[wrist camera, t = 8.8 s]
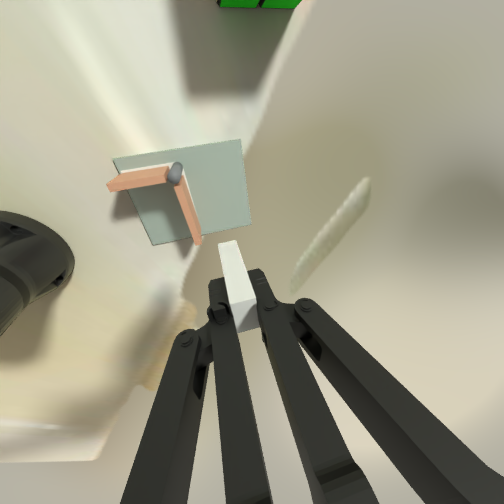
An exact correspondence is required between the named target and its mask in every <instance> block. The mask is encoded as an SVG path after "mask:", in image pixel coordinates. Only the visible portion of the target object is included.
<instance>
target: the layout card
mask: <svg viewBox="0 0 504 504" xmlns="http://www.w3.org/2000/svg"><path fill="white" fill-rule="evenodd" d="M113 161H114V163H115V165H116V167H117V169H118V171H119V173H120V174H121V173H126V172H133V171H139V170H145V169H151V168H157V167H163V166H169V169H171V167H172V165H173V163H174V162H180V163H181V164H182V165H183V171H182V175H184V178H185V181H186V184H187V187H188V190H189V193H190V196H191V199H192V202H193V205H194V208H195V211H196V214H197V217H198V220H199V223H200V226H201V235H204V234H208V233H214V232H218V231H223V230H228V229H233V228H238V227H242V226H247V225H251V218H250V210H249V202H248V194H247V186H246V178H245V170H244V162H243V154H242V146H241V139H237V140H230V141H224V142H217V143H211V144H204V145H198V146H191V147H185V148H178V149H172V150H165V151H159V152H152V153H146V154H139V155H133V156H126V157H120V158H113ZM127 191H128V193H129V195H130V197H131V199H132V201H133V203H134V205H135V208H136V210H137V212H138V214H139V216H140V218H141V220H142V222H143V225H144V227H145V229H146V231H147V233H148V235H149V237H150V239H151V242H152V244H153V245H156V244H161V243H166V242H171V241H175V240H180V239H185V238H190V237H192V234H191V232H190V229H189V226H188V224H187V221H186V218H185V216H184V213H183V210H182V208H181V205H180V202H179V200H178V197H177V194H176V192H175V189H174V184H172V183H170V182H169V181H168V180H167V182H166V183H160V184H155V185H149V186H143V187H137V188H131V189H127Z"/></svg>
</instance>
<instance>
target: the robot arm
mask: <svg viewBox="0 0 504 504" xmlns="http://www.w3.org/2000/svg"><path fill="white" fill-rule="evenodd" d="M218 247H219V253H220V257H221V263H222V268H223V273H224V277H222V278H218V279H214V280H211V281H210V283H209V285H208V288H209V299H210V306H209V307H208V309H207V315H208V318H209V321H208V323H207V324H206V325H204V326H203V327H201V328H200V329H198V330H196V331H195V330H194V329H187V330H184V331H182V332H180V333H179V334H178V335H177V336H176V338H175V340H174V343H173V346H172V349H171V352H170V355H169V358H168V361H167V364H166V367H165V370H164V373H163V376H162V379H161V382H160V385H159V388H158V391H157V394H156V397H155V400H154V403H153V406H152V409H151V412H150V415H149V418H148V421H147V424H146V427H145V430H144V433H143V436H142V439H141V442H140V445H139V448H138V451H137V454H136V457H135V460H134V463H133V466H132V469H131V472H130V475H129V478H128V481H127V484H126V487H125V490H124V493H123V496H122V499H121V502H120V504H187V500H188V494H189V488H190V481H191V476H192V470H193V463H194V457H195V451H196V444H197V438H198V433H199V426H200V419H201V414H202V408H203V401H204V396H205V389H206V383H207V377H208V371H209V365H210V363H211V362H213V361H214V371H215V383H216V395H217V406H218V417H219V428H220V439H221V451H222V462H223V473H224V484H225V495H226V504H273V500H272V496H271V490H270V486H269V481H268V476H267V471H266V467H265V462H264V457H263V453H262V448H261V443H260V438H259V433H258V429H257V424H256V419H255V414H254V410H253V405H252V400H251V395H250V391H249V386H248V381H247V376H246V372H245V367H244V362H243V358H242V353H241V348H240V343H239V339H238V335H237V333H240V332H244V331H247V330H251V329H254V328H258V327H260V328H261V332H262V340H263V342H264V343H265V346H266V350H267V353H268V356H269V359H270V362H271V365H272V369H273V372H274V375H275V378H276V382H277V385H278V388H279V391H280V394H281V397H282V401H283V404H284V407H285V410H286V413H287V417H288V420H289V423H290V426H291V429H292V432H293V436H294V438H295V442H296V445H297V448H298V451H299V454H300V458H301V461H302V464H303V468H304V471H305V474H306V477H307V480H308V484H309V487H310V491H311V495H312V500H313V504H379V502H378V500H377V498H376V496H375V494H374V492H373V490H372V487H371V486H370V484H369V482H368V480H367V478H366V476H365V475H364V473H363V471H362V470H361V468H360V467H359V466H358V465H357V464H356V463H355V462H354V460H353V458H352V456H351V454H350V452H349V450H348V448H347V446H346V444H345V442H344V440H343V437H342V435H341V433H340V431H339V429H338V427H337V425H336V422H335V420H334V418H333V416H332V414H331V412H330V409H329V407H328V406H327V403H326V401H325V399H324V397H323V394H322V392H321V390H320V388H319V386H318V384H317V382H316V379H315V377H314V375H313V373H312V371H311V369H310V366H309V364H308V362H307V360H306V358H305V356H304V354H303V352H302V349H301V347H300V345H301V346H302V347H303V348H304V350H305V351H306V352H307V354H308V355H309V356H310V357H311V359H312V360H313V361H314V363H315V364H316V365H317V366H318V368H319V369H320V370H321V371H322V373H323V374H324V375H325V376H326V378H327V379H328V381H329V382H330V383H331V384H332V386H333V387H334V388H335V390H336V391H337V392H338V393H339V395H340V396H341V397H342V398H343V400H344V401H345V402H346V404H347V405H348V406H349V408H350V409H351V410H352V411H353V413H354V414H355V415H356V417H357V418H358V419H359V420H360V422H361V423H362V424H363V425H364V427H365V428H366V429H367V431H368V432H369V433H370V435H371V436H372V437H373V438H374V440H375V441H376V442H377V443H378V445H379V446H380V447H381V448H382V450H383V451H384V452H385V454H386V455H387V456H388V457H389V459H390V460H391V461H392V463H393V464H394V465H395V467H396V468H397V469H398V470H399V472H400V473H401V474H402V475H403V477H404V478H405V479H406V481H407V482H408V483H409V484H410V486H411V487H412V488H413V489H414V491H415V492H416V493H417V494H418V495H419V497H420V498H421V499H422V500H423V501H424V503H425V504H504V477H503V476H501V475H500V474H498V473H497V472H495V471H494V470H492V469H491V468H489V467H488V466H487V465H485V463H484V462H483V461H481V460H480V459H479V458H478V457H477V456H476V455H475V454H474V453H473V452H472V451H471V450H470V449H469V448H468V447H467V446H466V445H465V444H463V443H462V441H461V440H459V439H458V438H457V437H456V436H455V435H454V434H453V433H452V432H451V431H450V430H449V429H448V428H447V427H446V426H445V425H444V424H443V423H442V422H441V421H440V420H439V419H437V418H436V417H435V416H434V415H433V414H432V413H431V412H430V411H429V410H428V409H427V408H426V407H425V406H424V405H423V404H422V403H421V402H420V401H418V400H417V399H416V398H415V397H414V396H413V395H412V394H411V393H410V392H409V391H408V390H407V389H406V388H405V387H404V386H403V385H402V384H401V383H400V382H398V381H397V379H395V378H394V377H393V376H392V375H391V374H390V373H389V372H388V371H387V370H386V369H385V368H384V367H383V366H382V365H381V364H380V363H379V362H378V361H376V359H374V358H373V357H372V356H371V355H370V354H369V353H368V352H367V351H366V350H365V349H364V348H363V347H362V346H361V345H360V344H359V343H358V342H357V341H356V340H355V339H353V338H352V337H351V336H350V335H349V334H348V333H347V332H346V331H345V330H344V329H343V328H342V327H341V326H340V325H339V324H338V323H337V322H336V321H335V320H334V319H333V318H331V317H330V316H329V315H328V314H327V313H326V312H325V311H324V310H323V309H322V308H321V307H320V306H319V305H318V304H317V303H316V302H314V301H313V300H311V299H308V298H301V299H299V300H297V301H296V302H295V304H286V303H282V302H280V301H278V300H277V299H276V298H275V296H274V294H273V292H272V290H271V288H270V286H269V283H268V282H267V279H266V277H265V275H264V272H263V271H261V270H260V269H254V270H250V271H246V268H245V265H244V263H243V259H242V256H241V253H240V251H239V248H238V245H237V242H236V240H233V241H229V242H224V243H219V244H218ZM73 268H74V256H73V253H72V251H71V249H70V247H69V246H68V244H67V243H66V242H65V241H64V240H63V238H62V237H60V236H59V235H58V234H57V233H56V232H55V231H53V230H52V229H50V228H49V227H47V226H46V225H44V224H42V223H40V222H38V221H36V220H34V219H31V218H29V217H26V216H23V215H20V214H16V213H12V212H7V211H0V336H1V335H2V334H3V333H4V332H5V330H6V329H7V328H8V327H9V326H10V325H11V323H12V322H13V321H14V320H15V319H16V318H17V317H18V315H19V314H20V313H21V312H22V311H23V310H24V308H25V307H26V306H27V305H28V304H30V303H32V302H34V301H35V300H37V299H39V298H41V297H42V296H44V295H46V294H47V293H49V292H51V291H53V290H54V289H56V288H58V287H59V286H60V285H61V284H63V283H64V281H65V280H66V279H67V278H68V276H69V275H70V274H71V272H72V270H73ZM298 342H299V343H300V345H299V343H298Z"/></svg>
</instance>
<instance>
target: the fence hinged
mask: <svg viewBox="0 0 504 504" xmlns="http://www.w3.org/2000/svg"><path fill="white" fill-rule="evenodd" d="M174 189H175V192H176V194H177V197H178V200H179V202H180V205H181V208H182V210H183V213H184V216H185V218H186V221H187V224H188V226H189V229H190V232H191V234H192V237H193V240H194V243H195V245H200V244H202V238H201V226H200V223H199V220H198V217H197V214H196V211H195V208H194V205H193V202H192V199H191V196H190V193H189V190H188V187H187V184H186V181H185V178H184V175H181V179H180V182H179V183H177V184H174Z"/></svg>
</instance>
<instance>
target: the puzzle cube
mask: <svg viewBox="0 0 504 504" xmlns="http://www.w3.org/2000/svg"><path fill="white" fill-rule="evenodd" d="M216 1H217V4H218V5H219V7H242V8H256V7H257V5H258V4H259V6H260V7H261V8H292V9H294V8H295V7H296V6H297V5H298V4H299V3H300V2H301V1H302V0H216Z"/></svg>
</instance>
